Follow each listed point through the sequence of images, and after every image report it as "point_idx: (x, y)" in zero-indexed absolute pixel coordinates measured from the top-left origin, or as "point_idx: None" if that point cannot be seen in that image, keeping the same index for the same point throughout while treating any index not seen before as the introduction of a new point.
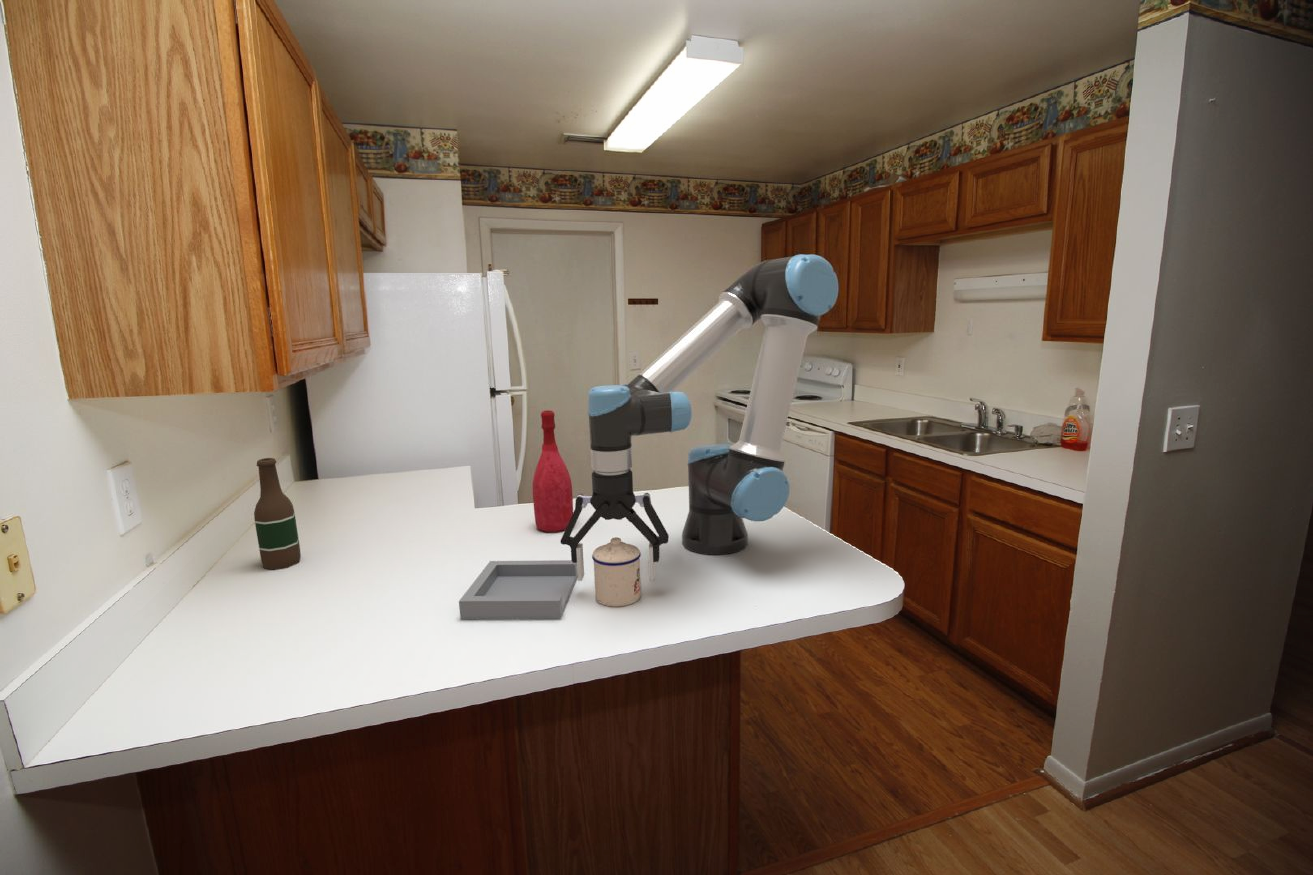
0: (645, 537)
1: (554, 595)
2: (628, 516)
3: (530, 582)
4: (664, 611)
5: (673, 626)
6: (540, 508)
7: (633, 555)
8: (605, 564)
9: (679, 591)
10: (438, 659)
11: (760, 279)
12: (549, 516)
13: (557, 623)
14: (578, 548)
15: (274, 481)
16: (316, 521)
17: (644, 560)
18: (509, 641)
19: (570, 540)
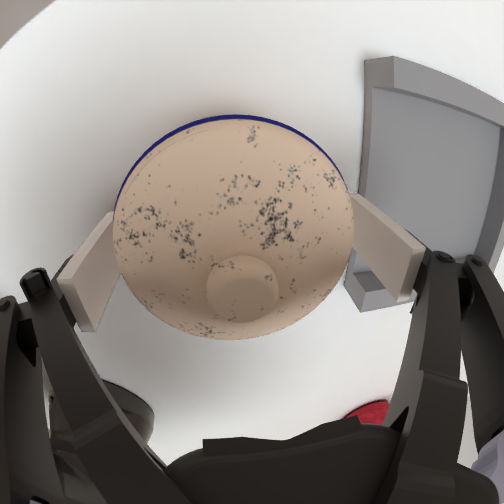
0: (64, 318)
1: (397, 164)
2: (118, 462)
3: (437, 233)
4: (84, 113)
5: (61, 48)
6: None
7: (125, 202)
8: (277, 121)
9: (74, 229)
10: (487, 3)
11: None
12: (382, 421)
13: (366, 42)
14: (418, 247)
15: None
16: None
17: (200, 362)
18: (431, 4)
19: (457, 275)
